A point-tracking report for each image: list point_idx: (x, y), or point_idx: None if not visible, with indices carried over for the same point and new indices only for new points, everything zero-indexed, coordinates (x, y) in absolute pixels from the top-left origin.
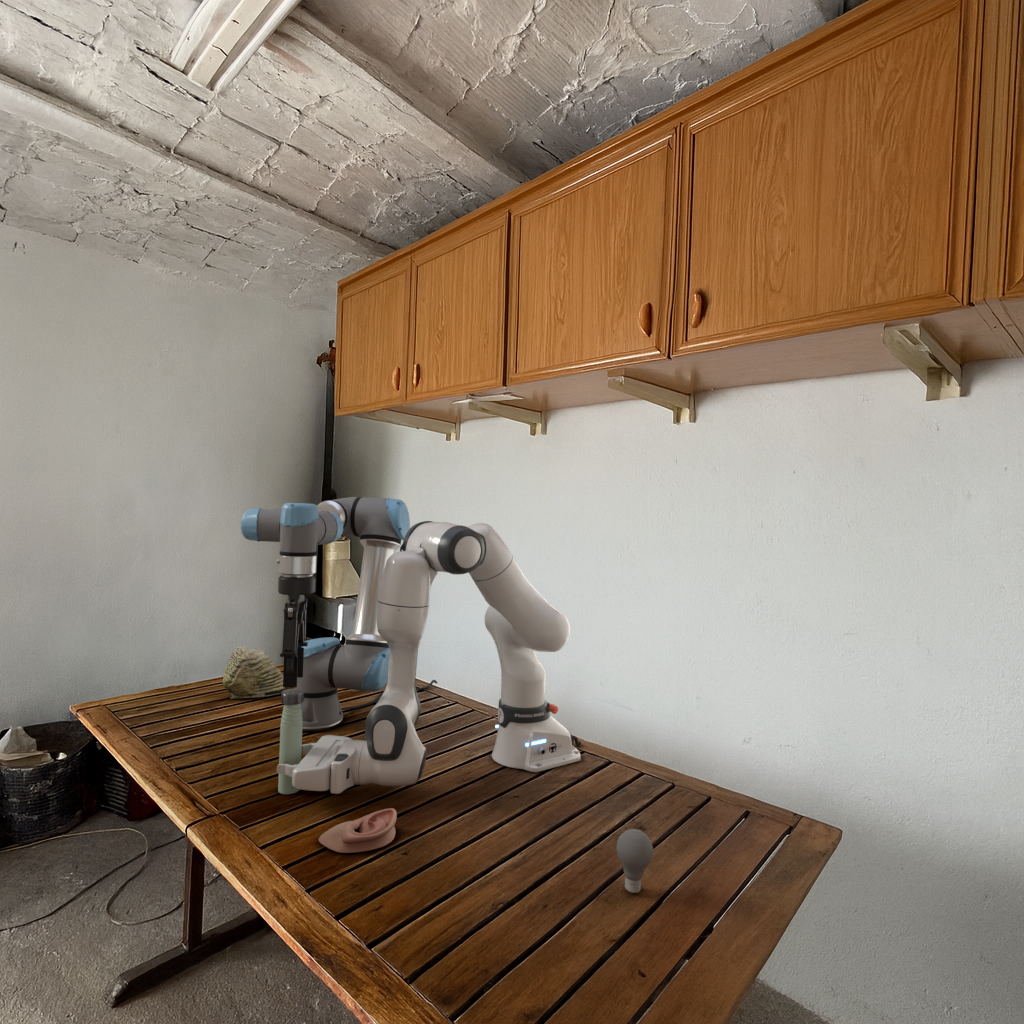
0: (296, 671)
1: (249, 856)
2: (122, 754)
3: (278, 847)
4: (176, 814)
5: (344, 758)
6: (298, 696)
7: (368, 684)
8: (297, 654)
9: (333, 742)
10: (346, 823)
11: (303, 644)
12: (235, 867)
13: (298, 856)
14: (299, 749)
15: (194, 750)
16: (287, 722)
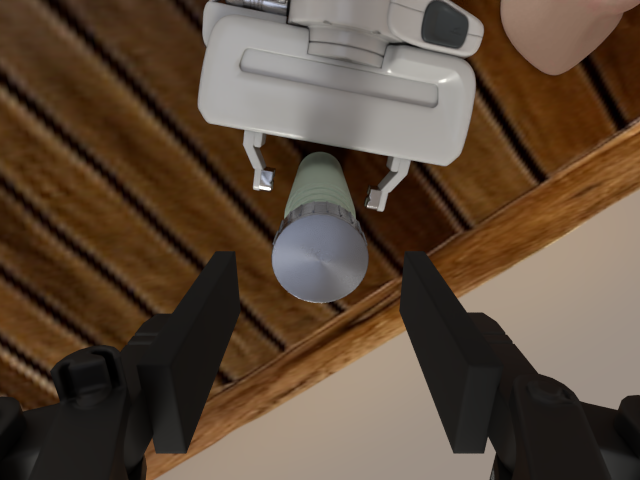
0: (453, 297)
1: (565, 193)
2: (173, 466)
3: (550, 150)
4: (397, 335)
5: (456, 12)
6: (356, 226)
7: None
8: (195, 365)
9: (262, 77)
10: (554, 10)
11: (119, 391)
12: (592, 207)
13: (594, 107)
14: (333, 170)
15: None
16: None
